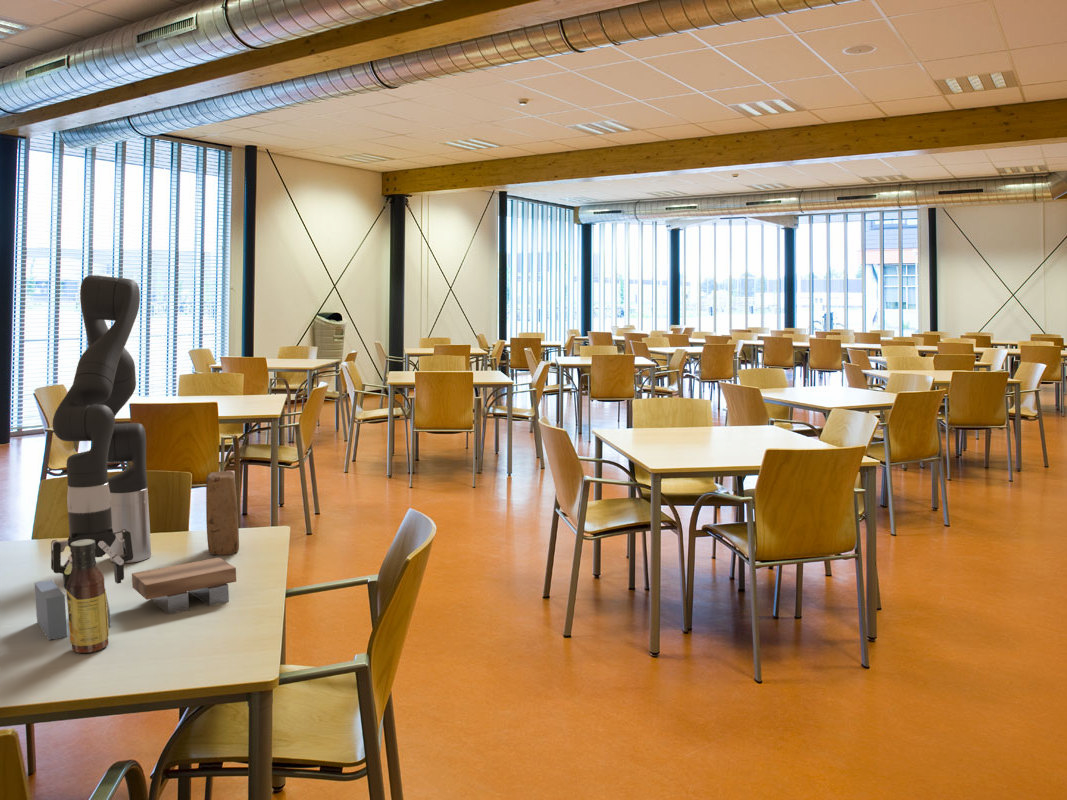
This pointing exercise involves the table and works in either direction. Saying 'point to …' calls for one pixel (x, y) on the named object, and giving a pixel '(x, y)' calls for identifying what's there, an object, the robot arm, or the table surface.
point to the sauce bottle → (86, 600)
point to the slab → (183, 578)
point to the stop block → (51, 609)
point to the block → (221, 513)
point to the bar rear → (212, 594)
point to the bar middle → (173, 603)
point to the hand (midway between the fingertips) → (94, 587)
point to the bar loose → (108, 613)
